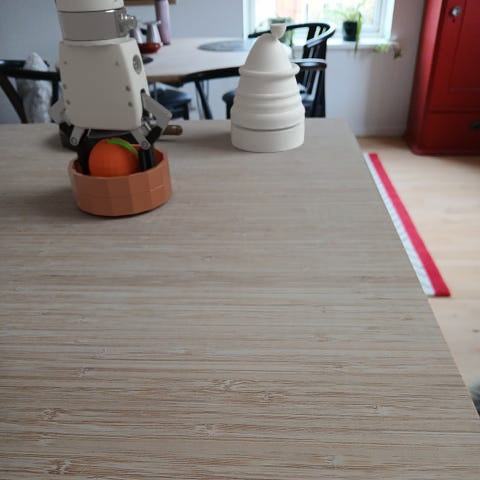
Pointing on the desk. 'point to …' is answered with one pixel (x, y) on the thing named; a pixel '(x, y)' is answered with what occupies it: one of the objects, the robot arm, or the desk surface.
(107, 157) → the clementine
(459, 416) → the desk surface
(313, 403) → the desk surface
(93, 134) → the pan
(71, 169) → the bowl
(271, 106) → the honey pot
